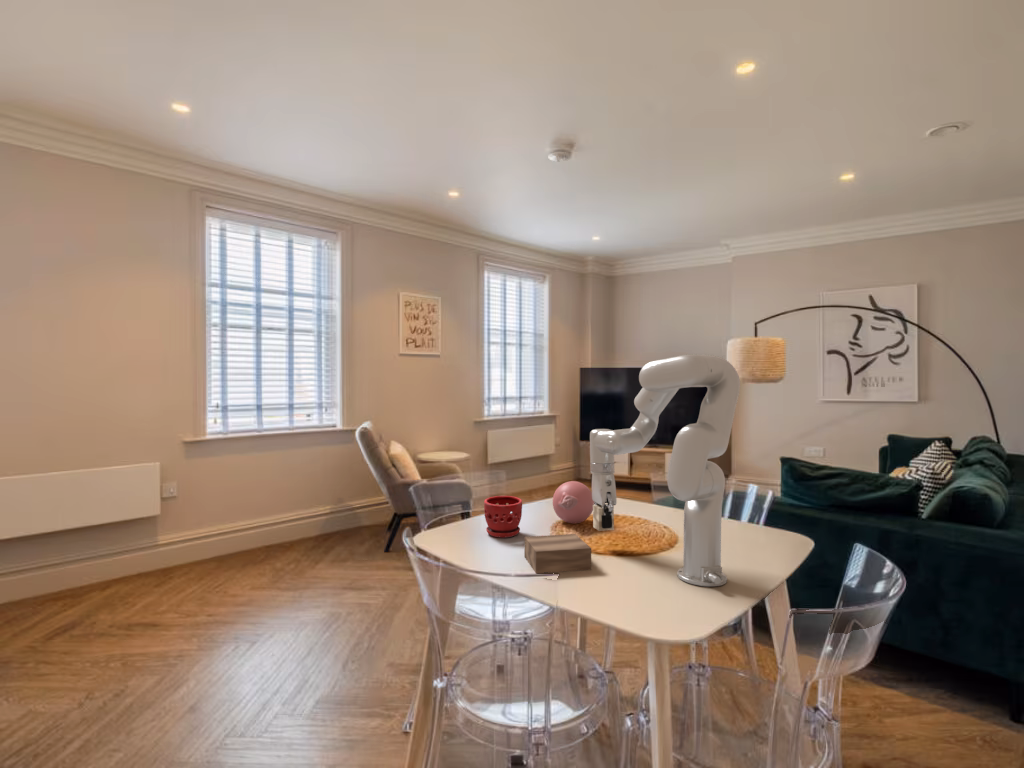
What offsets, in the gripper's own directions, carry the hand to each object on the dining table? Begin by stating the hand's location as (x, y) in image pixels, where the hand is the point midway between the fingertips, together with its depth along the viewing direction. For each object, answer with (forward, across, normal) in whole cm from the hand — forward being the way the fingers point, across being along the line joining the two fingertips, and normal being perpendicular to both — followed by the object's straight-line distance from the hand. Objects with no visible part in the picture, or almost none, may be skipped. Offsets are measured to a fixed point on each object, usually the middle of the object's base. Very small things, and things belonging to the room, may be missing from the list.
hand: (603, 525), depth 169 cm
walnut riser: (+7, -10, +18) cm, 22 cm away
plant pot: (+7, +21, +28) cm, 36 cm away
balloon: (+7, +29, +2) cm, 30 cm away
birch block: (+1, 0, 0) cm, 1 cm away
